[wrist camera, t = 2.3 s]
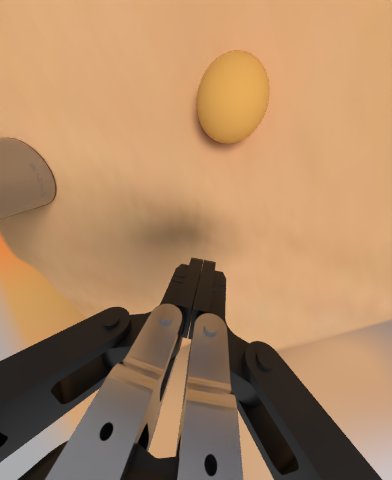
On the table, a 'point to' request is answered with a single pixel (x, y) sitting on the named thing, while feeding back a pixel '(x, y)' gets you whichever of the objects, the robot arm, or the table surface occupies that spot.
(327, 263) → the table surface
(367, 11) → the table surface
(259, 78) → the ball
